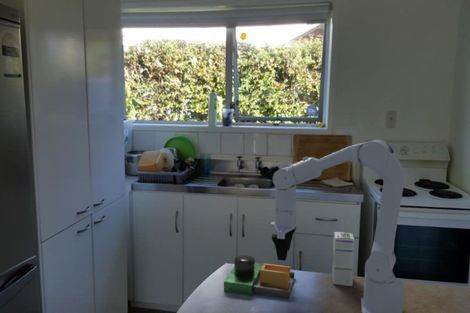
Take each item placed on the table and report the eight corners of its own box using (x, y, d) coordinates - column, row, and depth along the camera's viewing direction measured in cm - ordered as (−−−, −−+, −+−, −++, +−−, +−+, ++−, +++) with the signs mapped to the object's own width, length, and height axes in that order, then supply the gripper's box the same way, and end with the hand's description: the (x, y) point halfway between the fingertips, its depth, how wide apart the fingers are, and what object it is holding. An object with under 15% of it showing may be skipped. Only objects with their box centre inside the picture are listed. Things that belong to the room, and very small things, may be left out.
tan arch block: (289, 281, 113) (290, 266, 112) (287, 288, 108) (288, 273, 107) (263, 277, 115) (263, 263, 114) (259, 284, 110) (260, 269, 109)
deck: (294, 277, 117) (295, 255, 116) (287, 301, 102) (288, 276, 102) (237, 269, 122) (238, 248, 121) (223, 291, 107) (224, 267, 106)
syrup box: (352, 286, 112) (355, 238, 110) (332, 284, 113) (334, 237, 111) (351, 278, 117) (353, 232, 115) (331, 276, 118) (333, 230, 116)
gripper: (275, 202, 117) (274, 244, 119) (266, 214, 103) (265, 262, 105) (298, 203, 115) (297, 247, 117) (292, 217, 101) (291, 265, 103)
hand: (283, 254), depth 111 cm, fingers open, 7 cm apart
